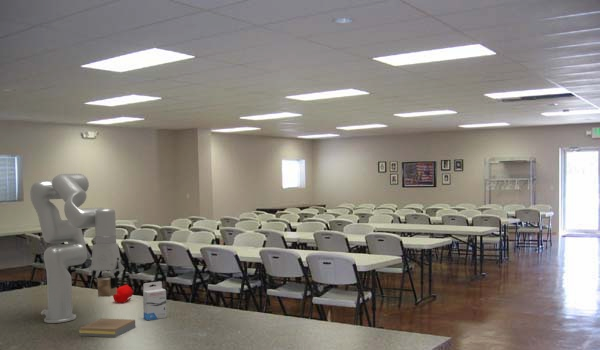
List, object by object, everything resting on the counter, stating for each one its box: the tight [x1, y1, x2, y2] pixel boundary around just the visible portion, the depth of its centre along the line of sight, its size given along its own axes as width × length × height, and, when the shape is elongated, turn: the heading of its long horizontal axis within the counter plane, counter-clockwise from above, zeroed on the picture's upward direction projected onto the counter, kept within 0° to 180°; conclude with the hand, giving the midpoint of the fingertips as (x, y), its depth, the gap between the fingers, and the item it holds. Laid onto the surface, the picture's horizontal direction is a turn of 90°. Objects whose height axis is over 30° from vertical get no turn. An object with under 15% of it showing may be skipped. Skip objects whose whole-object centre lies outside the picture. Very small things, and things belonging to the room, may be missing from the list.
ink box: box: [142, 281, 167, 321], centre depth 236 cm, size 8×5×15 cm, turn 123°
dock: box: [78, 318, 136, 338], centre depth 216 cm, size 15×14×3 cm
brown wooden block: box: [96, 275, 118, 298], centre depth 216 cm, size 5×5×7 cm
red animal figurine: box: [112, 284, 134, 304], centre depth 270 cm, size 8×8×8 cm
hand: (107, 287), depth 217 cm, fingers closed on brown wooden block, 5 cm apart
